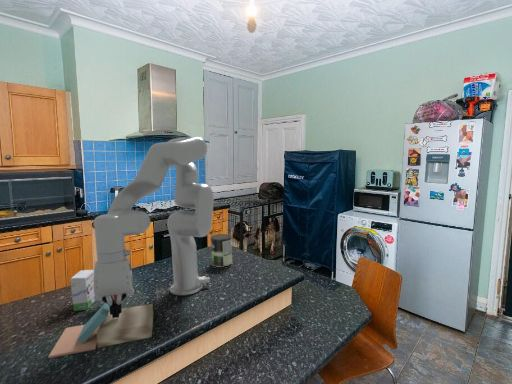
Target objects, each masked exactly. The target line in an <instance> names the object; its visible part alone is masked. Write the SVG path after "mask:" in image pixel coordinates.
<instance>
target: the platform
mask: <svg viewBox="0 0 512 384" xmlns="http://www.w3.org/2000/svg"><path fill="white" fill-rule="evenodd" d="M153 306H154V305H153V303H150V304H148V303H147V304H142V305H138V306H130V307H125V308H122V313H120V314H119V318H116V317H115V318H112V315H110V310H109V313H108V316H107V318H106V319H105V320H104V321H103V322H102V323H101V325H100V327H99V330H98V332H97V343H98V344H97V348H103V347H107V346H108V347H109V346H114V345H117V344H122V343H128V342H129V343H130V342H134V341H138V340H143V339H148V338H152V337H153V336H152V335H153V325H154V307H153Z"/></svg>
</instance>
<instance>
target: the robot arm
mask: <svg viewBox="0 0 512 384" xmlns="http://www.w3.org/2000/svg"><path fill="white" fill-rule="evenodd" d="M207 153H208V145H207V143H206V141H205V139H204V138H202V137H200V136H189V137H178V138H171V139H170V140H168V141H167V142H166V141H164V142H163V141H162V142H156V143H154V144H152V145H150V147H149V149H148V151H147V152H146V155H145V157H144V160H143V161H142V164H141V166H140V168H139V169H138V171H137V175H136V176H135V178H134V179H132V180H131V181H130V182H129V183H128V184H127V185H125V186H124V187H123V189H121V190H120V191H119V192H118V193H117V194H116V196H115V197H114V199H113V200H112V203H111V204H110V207H109V208H108V211H107V213H106V214H100V215H98V216H96V217H95V218H94V221H93V226H94V236H95V237H94V239H95V247H96V248H95V249H96V261H95V263H94V268H93V270H94V294H95V297H94V300H95V301H100V302H104V303H107V304H108V306H109V307H110V310H109V311H110V315H112V318H115V317H116V318H119V314H120V313H122V309H123V308H122V304H121V302H122V301H123V302H124V300H125V299H126V298H128V297H131V296H132V295H134V294H135V289H134V287H133V286H134V278H133V272H132V271H133V270H132V266H131V261H130V258H129V257H128V256H131V255H132V251H131V250H128V249H126V245H125V243H126V241H125V237H127V236H136V235H138V236H139V235H141V234H143V233H145V232H147V230H148V229H149V228H150V227H151V218H150V216H149V214H148V213H146V212H144V211H142V210H136V209H135V210H134V209H133V207H134V206H135V205H136V204H137V203H138V202H139V201H140V200H141V199H143V198H145V197H147V196H149V195H152V194H153V193H155V192H158V191H159V190H160V189H161V187H162V185H163V184H164V183H163V182H164V180H165V178H166V176H167V173H168V171H169V168H171V167H174V168H175V174H176V176H175V178H176V179H175V184H174V185H175V186H174V187H175V188H174V199H173V200H174V203H175V205H176V206H177V207H180V208H184V209H187V208H188V209H194V210H195V211H192V210H191V211H189V210H177V211H174V212H172V213H171V214H170V215H169V216H168V217H167V230H168V234H169V238H170V245H171V255H172V256H171V258H172V259H171V260H172V274H173V284H171V286H170V287H169V288H170V289H169V291H170V293H171V294H172V295H175V296H189V295H193V294H196V293H198V292H199V291H201V290H202V289H203V284H206V283H210V281H211V279H210V277H209V276H208V277H207V276H206V275H204V276H200V275H199V273H198V269H199V268H198V254H197V243H196V240H195V238H196V237H197V238H203V237H206V236H207V235H209V233H210V232H211V229H212V222H213V212H214V203H215V201H214V200H215V197H214V192H213V189H212V187H211V186H210V185H208V184H205V183H198V182H199V172H198V168H197V165H196V164H195V163H194V162H197V161H200V160H202V159H204V157H205V156H206V155H207ZM113 295H117V300H116V302H115V300H114V299H113Z"/></svg>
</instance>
